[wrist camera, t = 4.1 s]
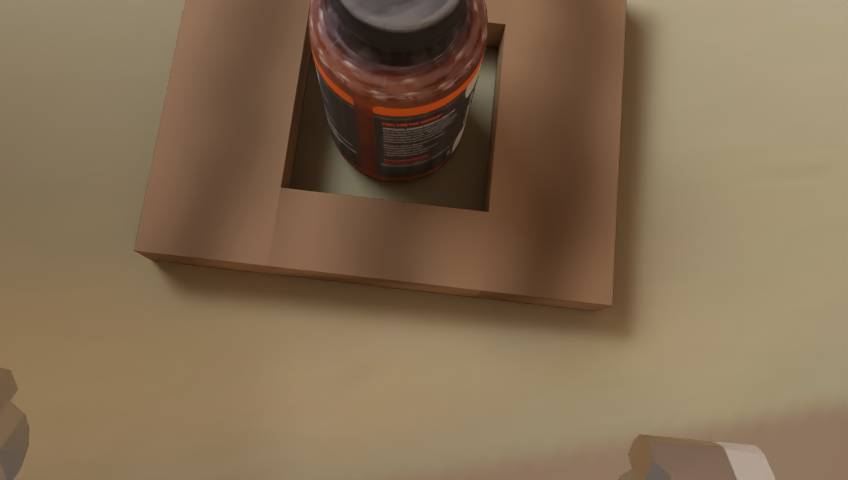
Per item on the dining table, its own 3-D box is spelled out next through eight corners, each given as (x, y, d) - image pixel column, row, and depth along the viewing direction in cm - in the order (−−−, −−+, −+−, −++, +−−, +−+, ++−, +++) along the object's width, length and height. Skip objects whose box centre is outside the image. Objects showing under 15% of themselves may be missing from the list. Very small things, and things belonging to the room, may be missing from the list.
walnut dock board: (151, 259, 29) (134, 250, 27) (213, -53, 32) (201, -81, 30) (597, 311, 29) (612, 305, 27) (613, -2, 33) (627, -27, 31)
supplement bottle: (491, 128, 31) (549, -19, 20) (389, 213, 30) (391, 107, 19) (402, 35, 32) (410, -158, 21) (301, 114, 30) (252, -44, 19)
